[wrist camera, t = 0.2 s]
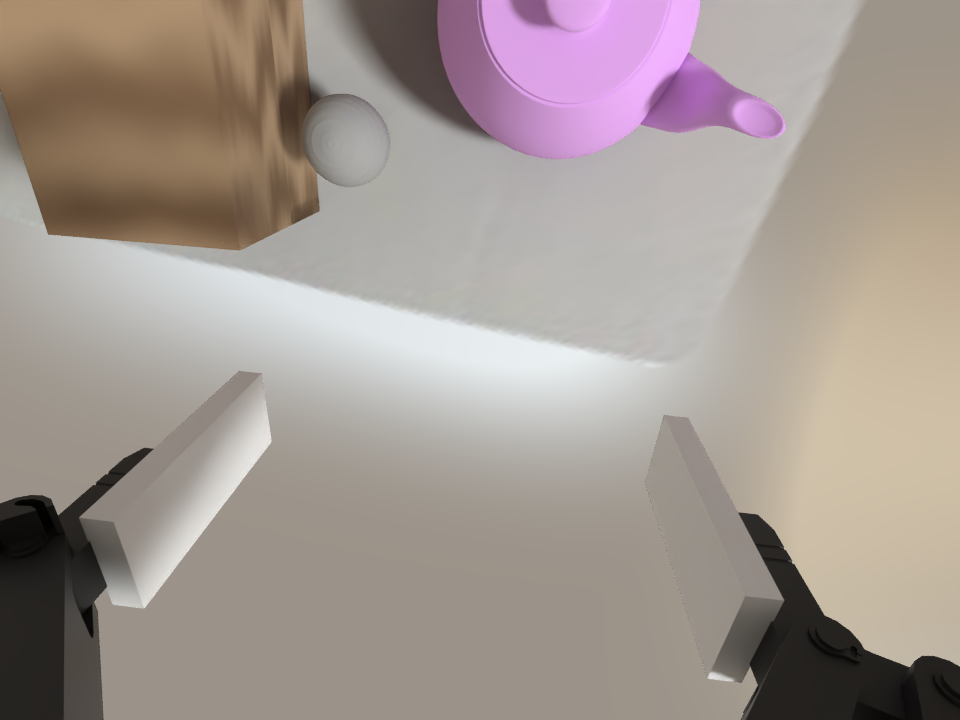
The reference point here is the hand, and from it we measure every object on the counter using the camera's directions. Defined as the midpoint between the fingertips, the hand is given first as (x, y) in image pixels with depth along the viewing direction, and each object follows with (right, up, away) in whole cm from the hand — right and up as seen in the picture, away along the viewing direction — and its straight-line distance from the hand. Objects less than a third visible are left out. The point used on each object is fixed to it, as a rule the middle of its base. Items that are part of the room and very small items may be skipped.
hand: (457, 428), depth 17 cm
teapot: (+7, +25, +18) cm, 32 cm away
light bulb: (-7, +20, +22) cm, 31 cm away
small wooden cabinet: (-18, +22, +22) cm, 36 cm away
